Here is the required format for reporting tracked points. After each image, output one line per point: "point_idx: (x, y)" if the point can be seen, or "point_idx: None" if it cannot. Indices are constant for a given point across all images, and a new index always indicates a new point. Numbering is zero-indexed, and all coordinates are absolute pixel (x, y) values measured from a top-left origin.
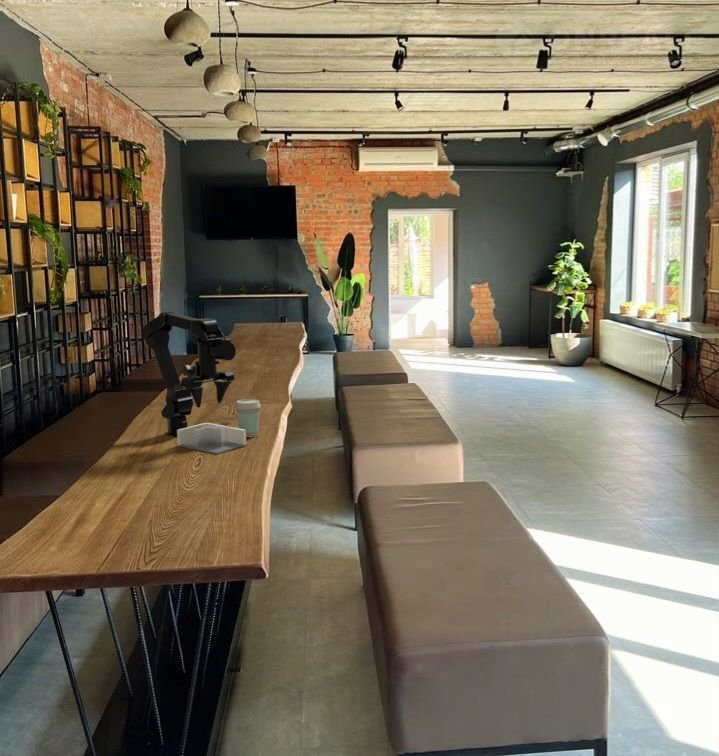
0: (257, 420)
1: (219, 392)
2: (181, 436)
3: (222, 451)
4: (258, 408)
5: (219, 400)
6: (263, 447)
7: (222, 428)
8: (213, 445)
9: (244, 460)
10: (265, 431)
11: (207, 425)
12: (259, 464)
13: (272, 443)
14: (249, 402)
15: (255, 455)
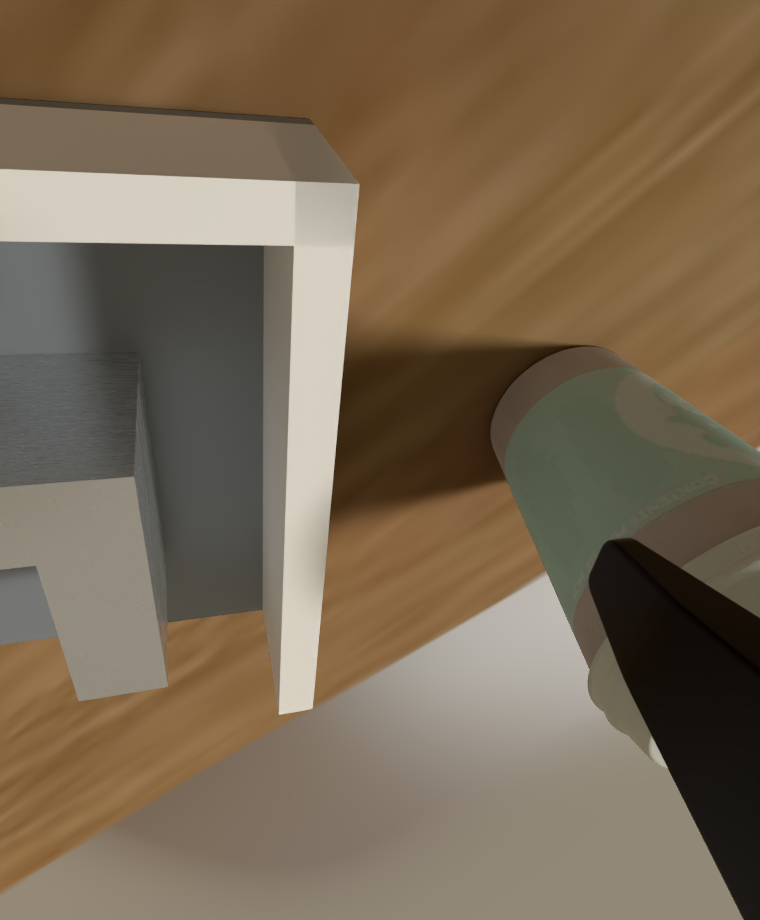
0: None
1: (757, 781)
2: None
3: (4, 642)
4: None
5: (613, 617)
6: (322, 668)
7: (134, 670)
8: None
9: (14, 786)
10: (730, 406)
11: (288, 258)
12: (30, 848)
13: (432, 638)
14: None
15: (146, 749)
